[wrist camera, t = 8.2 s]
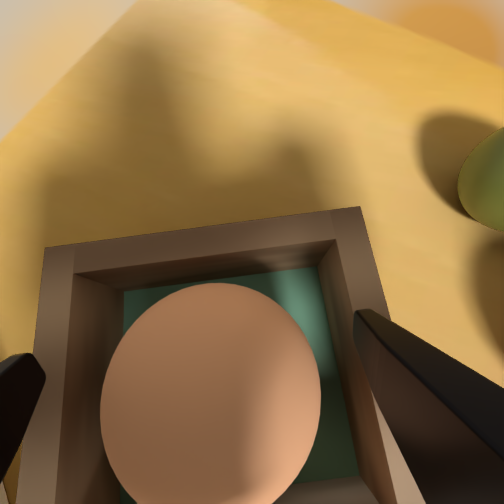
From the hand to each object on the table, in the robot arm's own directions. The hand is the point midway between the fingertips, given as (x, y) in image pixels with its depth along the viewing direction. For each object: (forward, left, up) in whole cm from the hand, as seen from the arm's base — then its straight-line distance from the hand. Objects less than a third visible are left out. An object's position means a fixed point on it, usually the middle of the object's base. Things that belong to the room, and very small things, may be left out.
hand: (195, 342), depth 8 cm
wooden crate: (-1, 0, -7) cm, 7 cm away
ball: (-1, 0, -6) cm, 6 cm away
